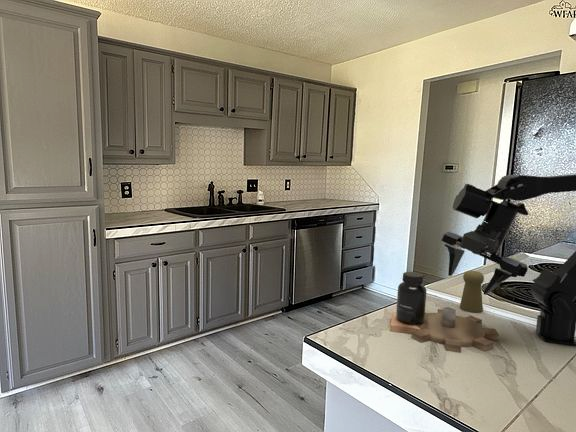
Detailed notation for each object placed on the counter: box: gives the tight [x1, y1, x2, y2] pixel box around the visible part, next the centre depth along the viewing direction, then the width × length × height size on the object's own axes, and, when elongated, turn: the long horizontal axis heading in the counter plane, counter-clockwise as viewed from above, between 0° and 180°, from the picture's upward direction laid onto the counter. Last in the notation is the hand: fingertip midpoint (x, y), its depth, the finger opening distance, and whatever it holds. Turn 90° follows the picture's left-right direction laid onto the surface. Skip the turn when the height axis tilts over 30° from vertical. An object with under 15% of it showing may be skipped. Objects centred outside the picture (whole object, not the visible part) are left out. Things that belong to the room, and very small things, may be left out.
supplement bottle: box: [395, 271, 427, 325], centre depth 93 cm, size 7×7×12 cm
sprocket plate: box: [389, 306, 500, 353], centre depth 91 cm, size 24×21×6 cm
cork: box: [459, 270, 485, 314], centre depth 105 cm, size 6×6×11 cm
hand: (466, 284), depth 90 cm, fingers open, 9 cm apart
